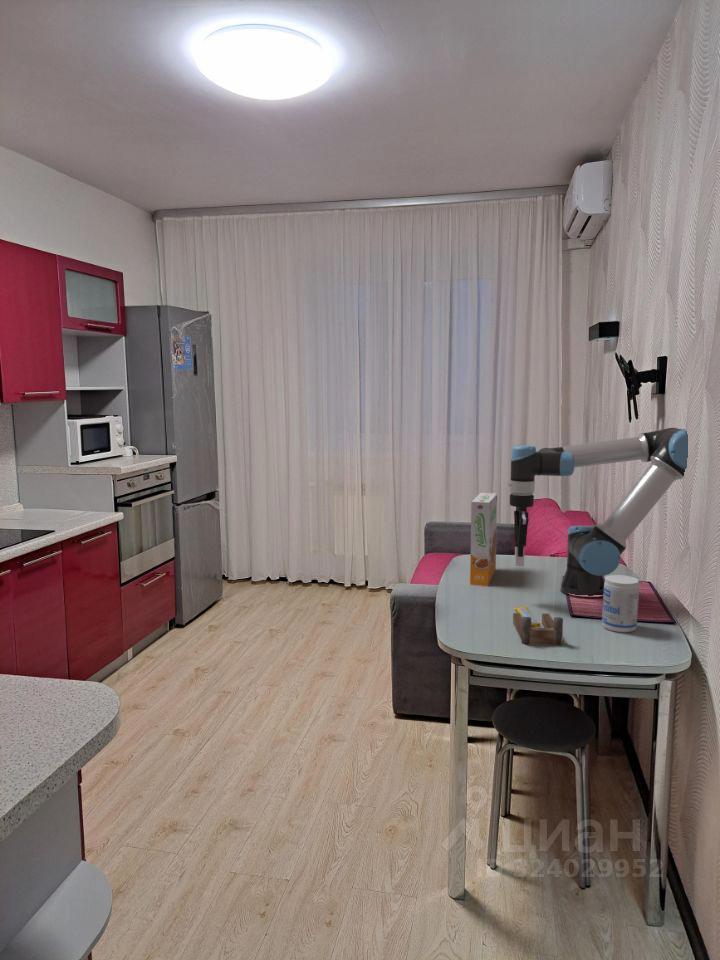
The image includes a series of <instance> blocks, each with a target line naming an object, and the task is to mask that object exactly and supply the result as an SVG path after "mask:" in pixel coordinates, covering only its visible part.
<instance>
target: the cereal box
mask: <svg viewBox="0 0 720 960" xmlns="http://www.w3.org/2000/svg"><path fill="white" fill-rule="evenodd" d="M470 508H471V509H470V511H471V513H470V562H469V563H470V566H469V567H470V570H469V571H470V572H469V573H470V575H469V576H470V577H469V579H470V580H469V585H470V584H471V585H473V586H484V587H488V586H489V585H490V582H491V580H492V579H491V578H493V577H492V576H494V575H495V573H496V571H495V570H496V569H497V567H496V566H497V527H498V526H497V525H498V524H497V523H498V522H497V519H498V517H497V516H498V493H496V492H480V493H479V494H478V495H477V496H475V498H474V499H473V500H472V501H471V507H470ZM494 572H495V573H494ZM493 574H494V575H493Z"/></svg>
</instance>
